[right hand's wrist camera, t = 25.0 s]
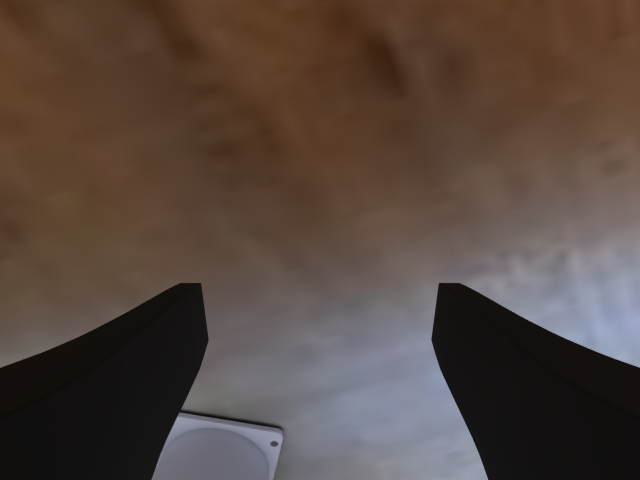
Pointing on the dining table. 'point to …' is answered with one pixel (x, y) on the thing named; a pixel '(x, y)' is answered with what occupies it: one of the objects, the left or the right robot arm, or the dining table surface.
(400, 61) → the dining table surface
